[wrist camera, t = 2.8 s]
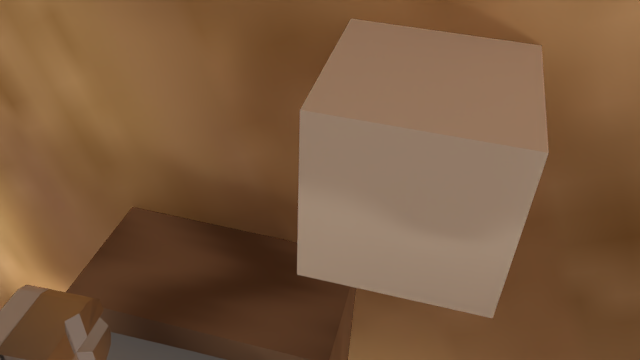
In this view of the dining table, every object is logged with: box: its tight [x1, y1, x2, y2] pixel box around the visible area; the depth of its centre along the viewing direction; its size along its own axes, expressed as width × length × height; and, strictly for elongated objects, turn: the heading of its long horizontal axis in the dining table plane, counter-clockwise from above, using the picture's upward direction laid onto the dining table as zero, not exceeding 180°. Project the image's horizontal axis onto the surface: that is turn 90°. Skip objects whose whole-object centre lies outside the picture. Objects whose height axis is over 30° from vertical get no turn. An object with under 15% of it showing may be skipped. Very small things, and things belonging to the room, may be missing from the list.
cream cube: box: [297, 18, 549, 318], centre depth 15 cm, size 5×5×5 cm
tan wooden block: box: [66, 207, 356, 360], centre depth 23 cm, size 9×9×5 cm
